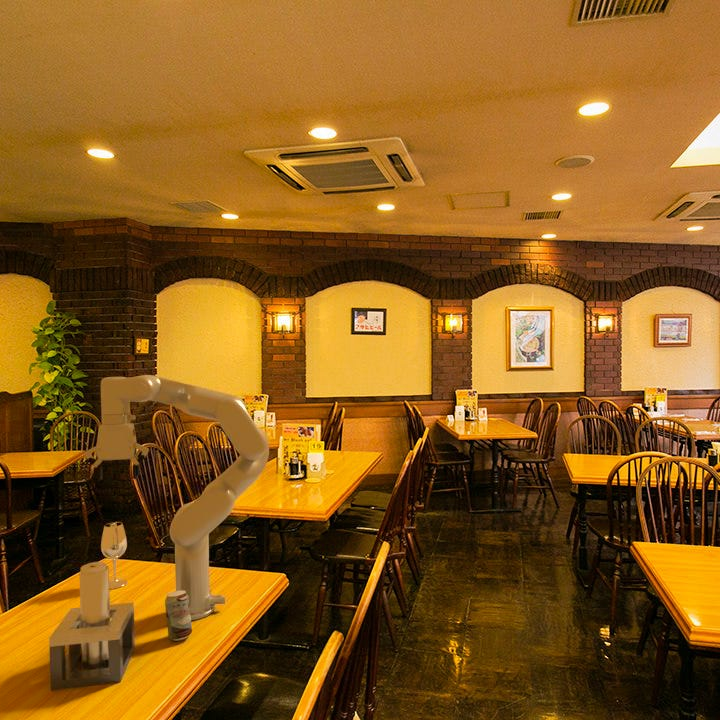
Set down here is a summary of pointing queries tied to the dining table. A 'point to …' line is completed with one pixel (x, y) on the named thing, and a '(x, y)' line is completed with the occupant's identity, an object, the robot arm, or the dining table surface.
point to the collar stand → (73, 635)
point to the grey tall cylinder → (94, 612)
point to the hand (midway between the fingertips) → (117, 479)
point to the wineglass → (114, 548)
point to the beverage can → (178, 615)
